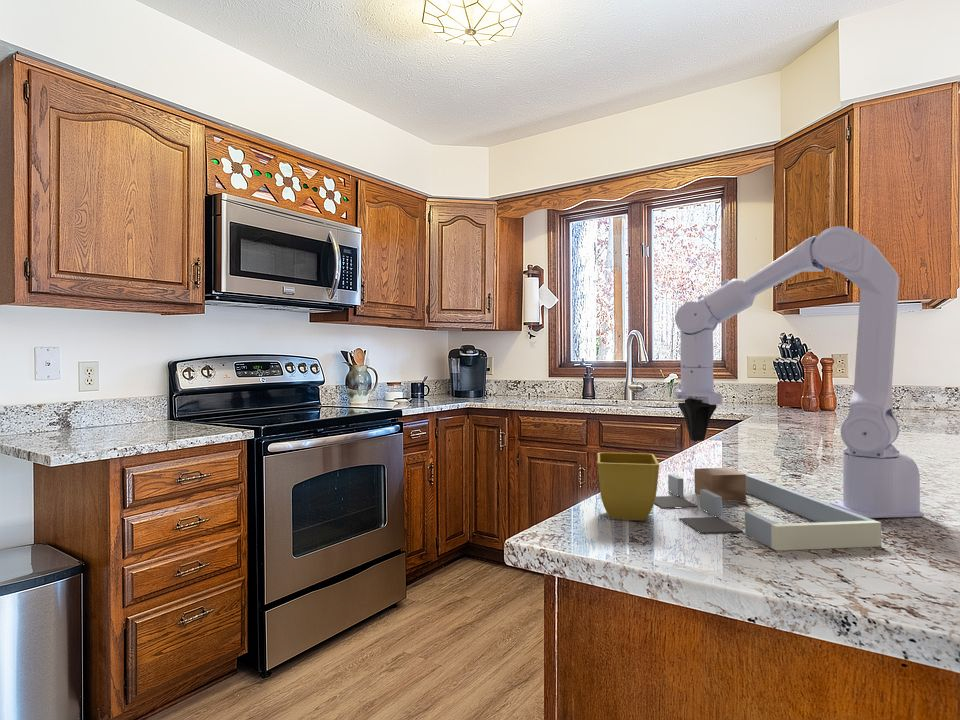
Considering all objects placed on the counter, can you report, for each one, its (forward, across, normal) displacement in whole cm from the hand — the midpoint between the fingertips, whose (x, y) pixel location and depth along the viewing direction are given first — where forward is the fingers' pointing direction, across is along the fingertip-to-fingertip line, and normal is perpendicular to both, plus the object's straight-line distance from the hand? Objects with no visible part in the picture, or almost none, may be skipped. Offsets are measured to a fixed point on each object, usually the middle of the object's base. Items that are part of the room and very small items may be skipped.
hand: (697, 440), depth 106 cm
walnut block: (+9, +8, 0) cm, 12 cm away
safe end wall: (+8, +34, 0) cm, 36 cm away
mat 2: (+8, +24, -10) cm, 27 cm away
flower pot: (+9, +18, -20) cm, 28 cm away
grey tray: (+8, +18, 0) cm, 20 cm away
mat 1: (+8, +11, -10) cm, 17 cm away
